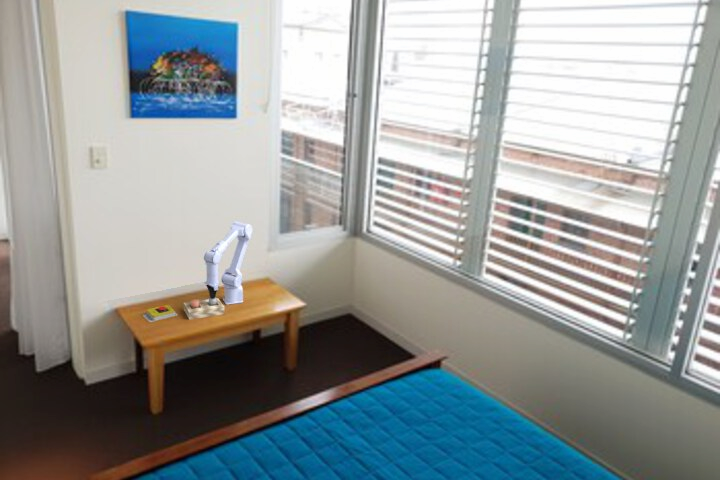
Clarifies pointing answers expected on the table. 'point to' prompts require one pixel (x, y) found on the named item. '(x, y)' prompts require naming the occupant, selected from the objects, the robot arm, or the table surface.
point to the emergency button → (159, 313)
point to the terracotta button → (194, 304)
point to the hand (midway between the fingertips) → (212, 298)
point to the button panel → (204, 309)
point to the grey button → (212, 301)
